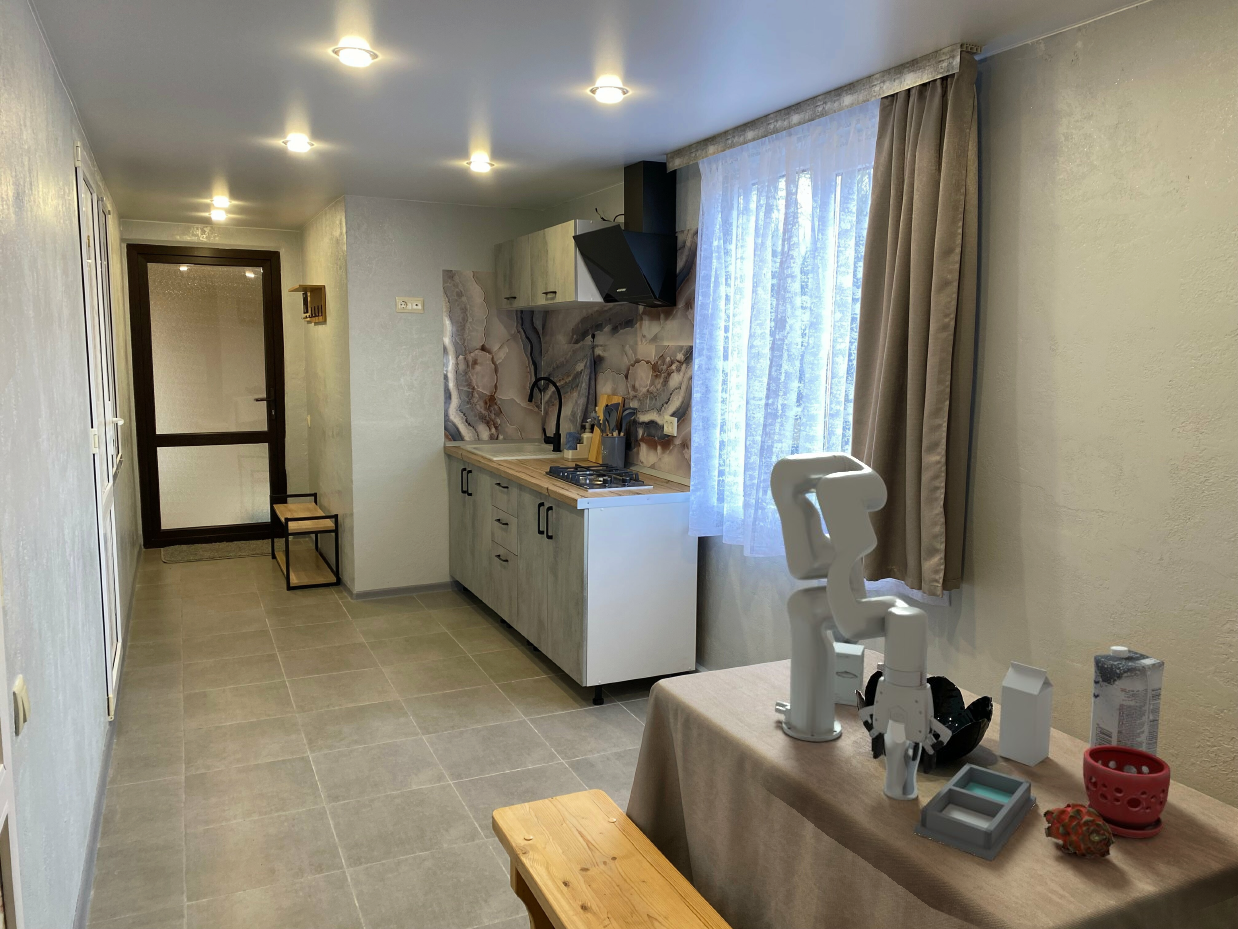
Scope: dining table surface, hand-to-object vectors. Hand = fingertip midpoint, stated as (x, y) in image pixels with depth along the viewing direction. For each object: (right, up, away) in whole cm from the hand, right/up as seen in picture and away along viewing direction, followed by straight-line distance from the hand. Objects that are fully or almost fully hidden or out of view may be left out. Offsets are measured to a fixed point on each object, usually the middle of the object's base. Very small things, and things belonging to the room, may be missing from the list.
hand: (902, 763), depth 167 cm
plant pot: (+35, -7, -10) cm, 37 cm away
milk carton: (+29, -4, +15) cm, 33 cm away
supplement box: (+1, 0, +45) cm, 45 cm away
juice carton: (+41, -6, +2) cm, 41 cm away
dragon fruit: (+23, -8, -18) cm, 30 cm away
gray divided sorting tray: (+11, -7, -8) cm, 15 cm away
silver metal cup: (0, -6, +1) cm, 6 cm away
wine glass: (+4, +2, +60) cm, 60 cm away
